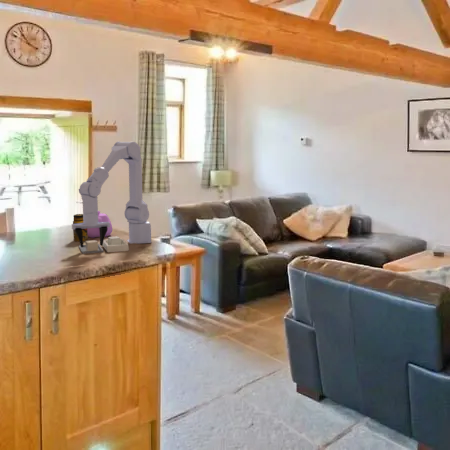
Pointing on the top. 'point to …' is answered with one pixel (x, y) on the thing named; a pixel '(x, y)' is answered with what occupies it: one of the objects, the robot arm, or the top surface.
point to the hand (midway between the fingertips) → (91, 246)
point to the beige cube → (91, 245)
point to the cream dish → (115, 246)
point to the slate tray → (83, 250)
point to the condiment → (79, 219)
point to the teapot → (95, 231)
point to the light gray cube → (114, 240)
